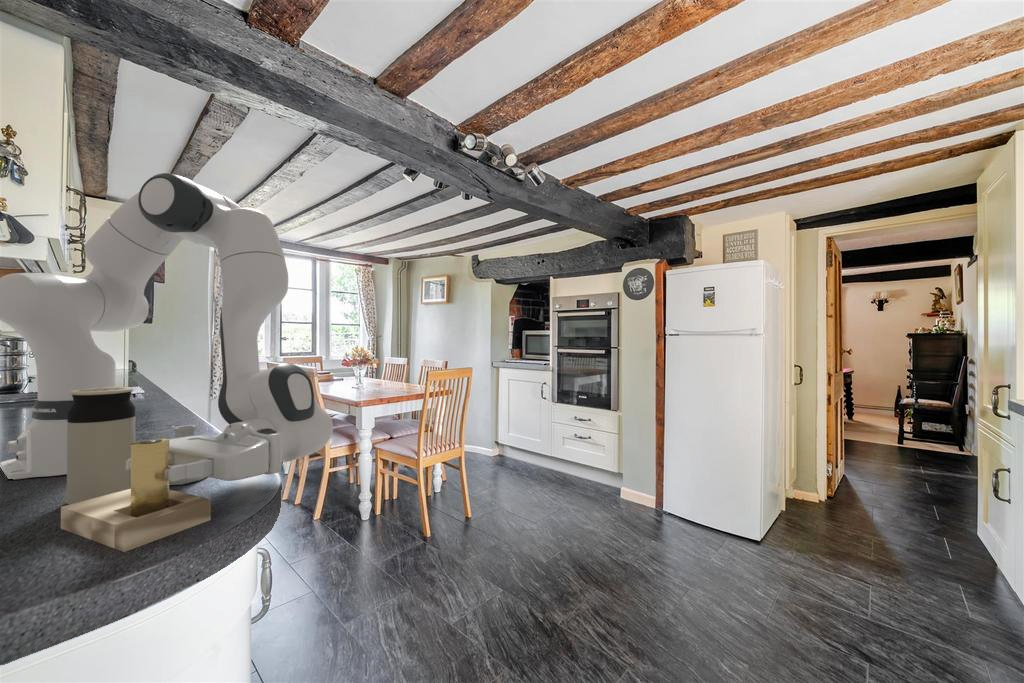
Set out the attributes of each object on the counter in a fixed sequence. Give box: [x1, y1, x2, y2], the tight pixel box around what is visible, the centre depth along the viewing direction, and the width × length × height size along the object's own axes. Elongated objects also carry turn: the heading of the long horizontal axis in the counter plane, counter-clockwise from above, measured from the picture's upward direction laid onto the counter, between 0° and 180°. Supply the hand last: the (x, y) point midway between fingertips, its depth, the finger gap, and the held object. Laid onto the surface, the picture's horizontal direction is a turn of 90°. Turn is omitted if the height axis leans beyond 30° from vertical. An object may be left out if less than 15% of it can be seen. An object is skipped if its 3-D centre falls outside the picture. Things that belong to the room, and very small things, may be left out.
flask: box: [169, 424, 207, 486], centre depth 77 cm, size 7×7×10 cm
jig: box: [60, 488, 212, 553], centre depth 58 cm, size 16×10×3 cm, turn 67°
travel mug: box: [66, 386, 136, 505], centre depth 68 cm, size 8×8×18 cm
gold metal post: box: [131, 438, 170, 518], centre depth 57 cm, size 4×4×12 cm
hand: (147, 470), depth 57 cm, fingers open, 8 cm apart
